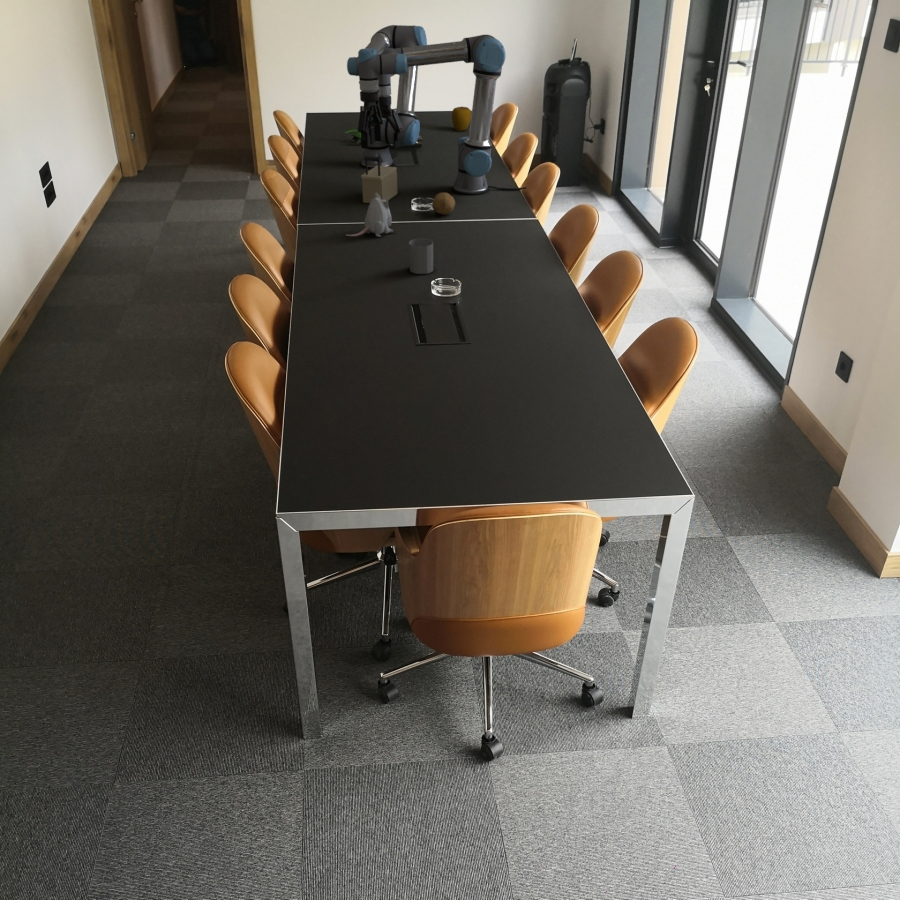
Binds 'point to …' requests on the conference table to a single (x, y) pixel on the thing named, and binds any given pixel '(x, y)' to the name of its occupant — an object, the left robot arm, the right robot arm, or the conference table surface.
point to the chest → (380, 188)
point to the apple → (461, 118)
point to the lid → (377, 169)
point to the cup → (421, 256)
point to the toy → (377, 217)
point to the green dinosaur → (355, 137)
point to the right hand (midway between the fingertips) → (371, 144)
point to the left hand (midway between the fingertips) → (384, 145)
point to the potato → (443, 203)
